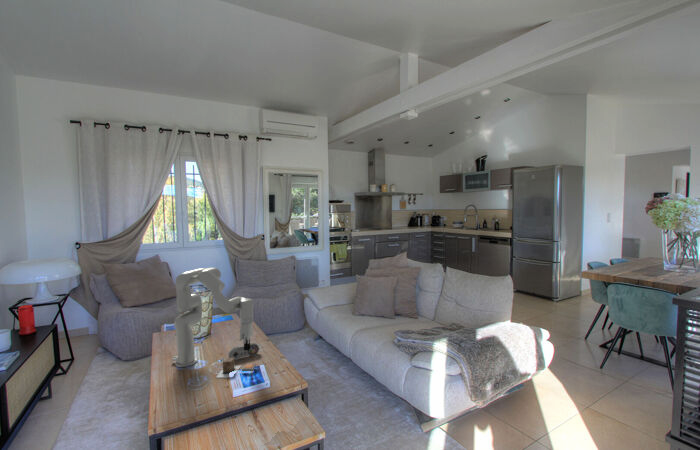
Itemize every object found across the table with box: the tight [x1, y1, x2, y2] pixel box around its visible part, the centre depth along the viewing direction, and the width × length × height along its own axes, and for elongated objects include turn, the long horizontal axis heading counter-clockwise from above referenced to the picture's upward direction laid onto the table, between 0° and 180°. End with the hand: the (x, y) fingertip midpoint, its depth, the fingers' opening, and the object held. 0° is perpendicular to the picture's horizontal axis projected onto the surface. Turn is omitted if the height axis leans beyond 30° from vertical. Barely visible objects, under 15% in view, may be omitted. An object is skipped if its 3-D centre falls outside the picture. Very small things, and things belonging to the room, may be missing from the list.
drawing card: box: [215, 365, 242, 379], centre depth 198 cm, size 10×14×1 cm
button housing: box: [241, 363, 257, 372], centre depth 198 cm, size 6×6×3 cm
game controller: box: [228, 342, 260, 362], centre depth 216 cm, size 20×2×8 cm, turn 123°
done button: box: [244, 363, 255, 368], centre depth 198 cm, size 4×4×2 cm
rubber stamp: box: [222, 357, 235, 373], centre depth 198 cm, size 5×5×7 cm
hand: (247, 349), depth 197 cm, fingers closed
